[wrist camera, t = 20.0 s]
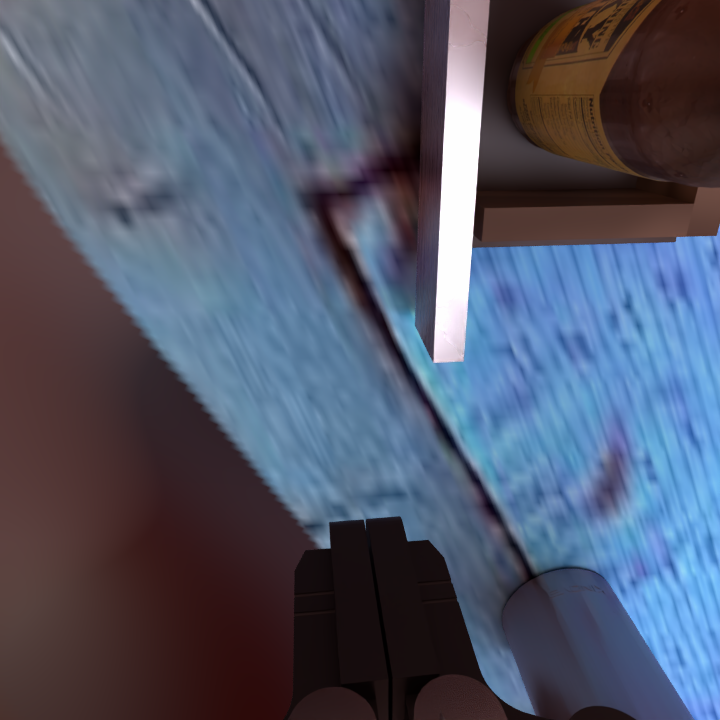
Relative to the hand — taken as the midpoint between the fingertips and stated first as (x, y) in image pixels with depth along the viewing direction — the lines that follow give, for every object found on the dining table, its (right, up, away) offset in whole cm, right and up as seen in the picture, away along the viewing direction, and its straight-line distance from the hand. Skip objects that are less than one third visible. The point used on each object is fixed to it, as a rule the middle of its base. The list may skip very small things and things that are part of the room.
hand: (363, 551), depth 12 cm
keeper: (+4, +15, +16) cm, 22 cm away
